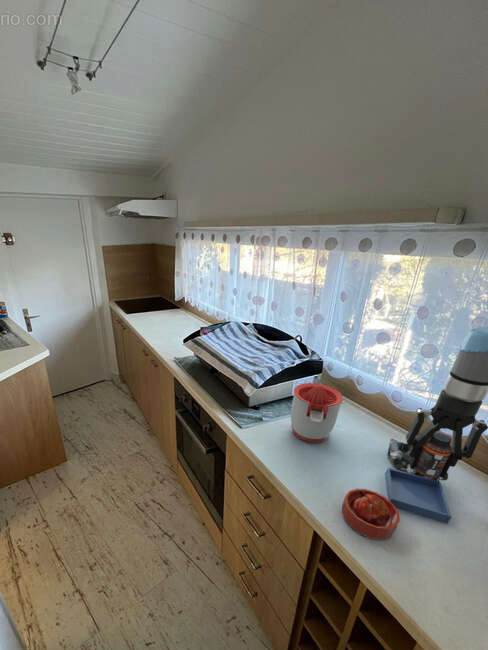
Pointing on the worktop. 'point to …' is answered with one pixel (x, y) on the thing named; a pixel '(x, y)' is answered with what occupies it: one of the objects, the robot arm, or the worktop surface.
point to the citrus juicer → (314, 411)
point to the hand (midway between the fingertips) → (426, 469)
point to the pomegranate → (370, 507)
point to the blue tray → (417, 495)
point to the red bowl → (371, 527)
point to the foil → (405, 458)
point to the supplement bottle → (434, 455)
